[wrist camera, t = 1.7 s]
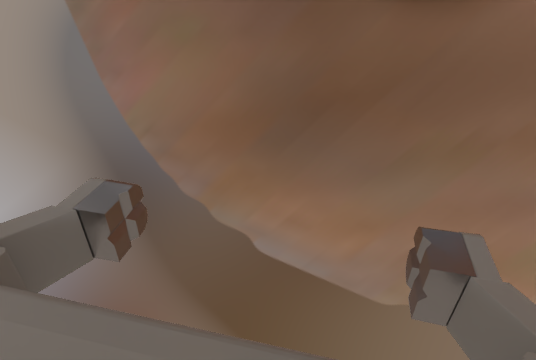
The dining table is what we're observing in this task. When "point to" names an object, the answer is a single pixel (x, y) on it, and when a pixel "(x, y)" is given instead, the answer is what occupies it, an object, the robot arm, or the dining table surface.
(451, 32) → the dining table surface
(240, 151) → the dining table surface
